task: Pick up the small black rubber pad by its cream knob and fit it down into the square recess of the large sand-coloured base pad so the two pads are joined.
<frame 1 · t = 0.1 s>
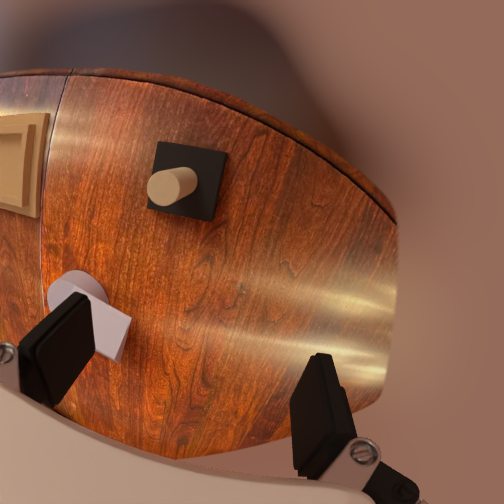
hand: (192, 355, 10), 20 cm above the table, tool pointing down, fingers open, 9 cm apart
wedge on round base: (95, 305, 34), on the table
base pad: (13, 162, 27), on the table
black pad: (187, 179, 28), on the table
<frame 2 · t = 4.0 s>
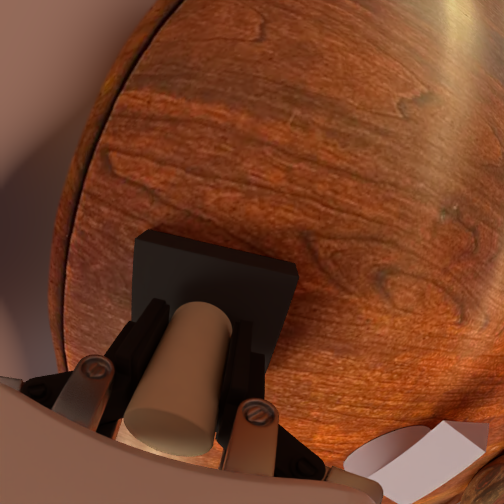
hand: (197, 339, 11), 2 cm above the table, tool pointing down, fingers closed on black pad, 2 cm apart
wedge on round base: (402, 440, 18), on the table
black pad: (207, 310, 14), on the table, touching gripper
ceramic vessel: (484, 467, 26), on the table
when the fingers open (3 cm above the table, at t = 10.9 s): black pad stays where it is, resting on base pad.
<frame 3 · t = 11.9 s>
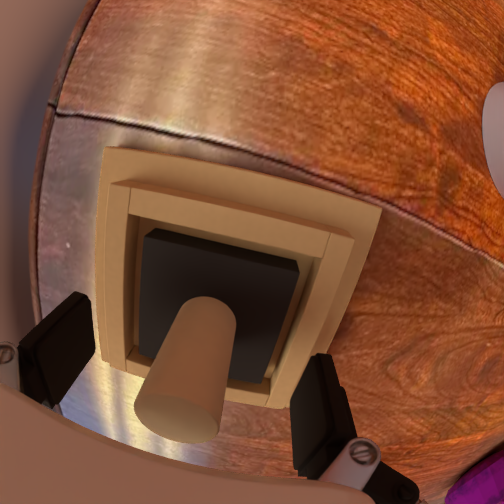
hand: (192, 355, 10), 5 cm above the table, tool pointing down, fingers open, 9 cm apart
decorative plant: (478, 464, 28), on the table
base pad: (214, 296, 15), on the table
black pad: (212, 305, 14), point 1 cm above the table, touching base pad
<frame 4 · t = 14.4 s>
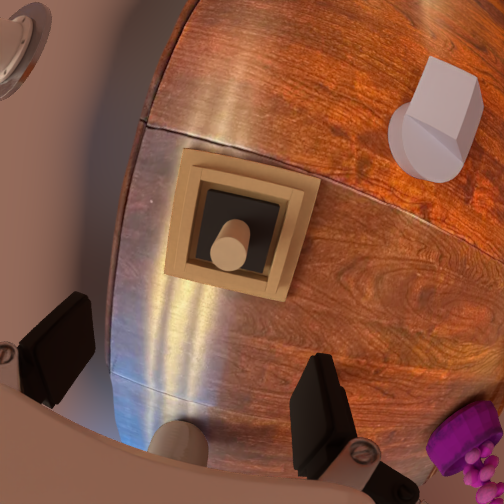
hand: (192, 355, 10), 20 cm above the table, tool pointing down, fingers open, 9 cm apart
decorative plant: (455, 418, 42), on the table
wedge on round base: (426, 126, 25), on the table
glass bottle: (185, 427, 42), on the table
base pad: (237, 226, 30), on the table
black pad: (237, 229, 29), point 1 cm above the table, touching base pad
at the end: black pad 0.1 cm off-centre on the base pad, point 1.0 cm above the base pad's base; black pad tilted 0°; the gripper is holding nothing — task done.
